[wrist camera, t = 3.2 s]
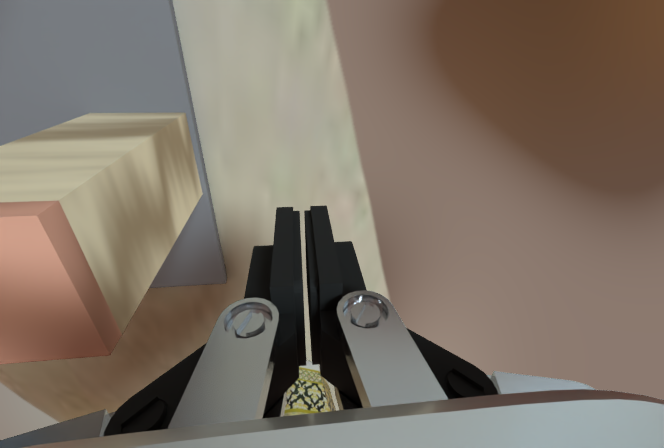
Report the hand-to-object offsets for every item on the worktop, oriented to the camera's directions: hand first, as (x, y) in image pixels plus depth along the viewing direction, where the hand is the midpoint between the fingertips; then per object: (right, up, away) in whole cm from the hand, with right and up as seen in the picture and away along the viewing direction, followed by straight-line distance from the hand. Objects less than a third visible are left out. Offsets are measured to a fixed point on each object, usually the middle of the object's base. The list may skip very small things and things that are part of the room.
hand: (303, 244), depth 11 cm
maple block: (-10, +5, +8) cm, 13 cm away
